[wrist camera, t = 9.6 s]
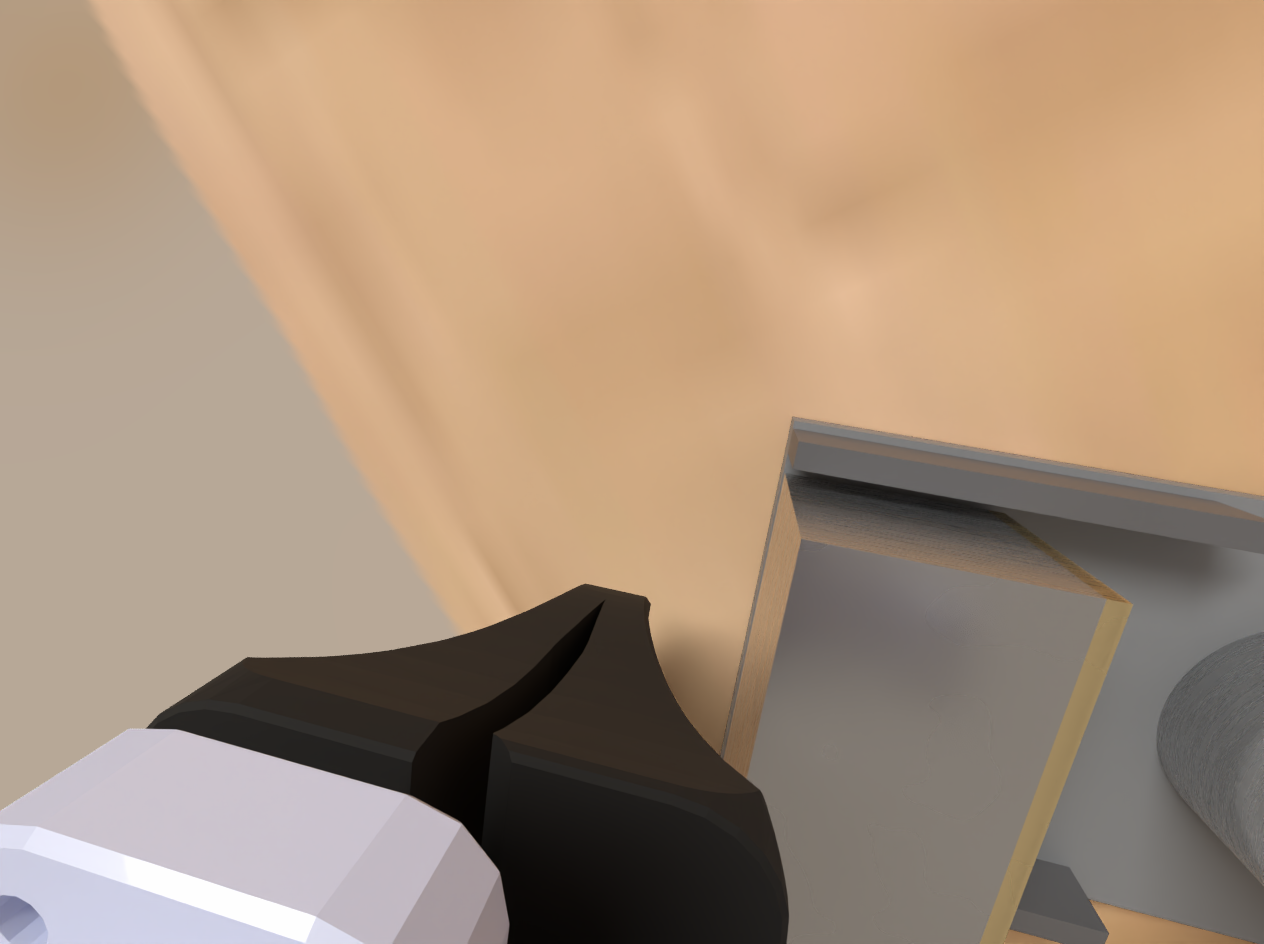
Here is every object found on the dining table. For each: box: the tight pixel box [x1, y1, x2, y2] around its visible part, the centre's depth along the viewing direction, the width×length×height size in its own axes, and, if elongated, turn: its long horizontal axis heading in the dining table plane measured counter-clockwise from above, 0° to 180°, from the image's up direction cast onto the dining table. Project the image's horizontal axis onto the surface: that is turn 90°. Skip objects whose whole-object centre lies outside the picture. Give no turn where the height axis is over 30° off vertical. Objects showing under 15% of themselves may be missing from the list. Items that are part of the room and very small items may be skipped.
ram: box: [723, 473, 1133, 944], centre depth 11 cm, size 4×7×4 cm, turn 171°
